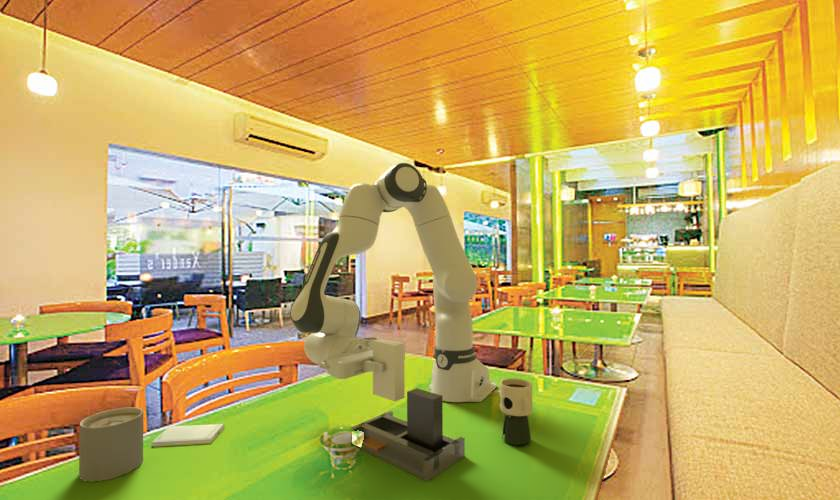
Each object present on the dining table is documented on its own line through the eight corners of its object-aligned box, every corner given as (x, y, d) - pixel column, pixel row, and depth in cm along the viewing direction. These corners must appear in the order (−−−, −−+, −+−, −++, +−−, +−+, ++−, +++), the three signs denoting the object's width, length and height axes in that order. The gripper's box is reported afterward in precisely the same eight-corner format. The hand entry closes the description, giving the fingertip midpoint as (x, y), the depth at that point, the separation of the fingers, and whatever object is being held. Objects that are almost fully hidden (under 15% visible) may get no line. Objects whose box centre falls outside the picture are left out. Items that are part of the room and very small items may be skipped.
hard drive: (151, 441, 86) (211, 438, 88) (170, 425, 94) (224, 422, 96) (151, 449, 86) (211, 445, 88) (170, 432, 94) (224, 429, 96)
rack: (390, 426, 96) (389, 371, 96) (464, 456, 81) (464, 392, 82) (351, 444, 87) (351, 384, 87) (427, 481, 72) (427, 409, 72)
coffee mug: (132, 476, 75) (132, 423, 75) (67, 486, 71) (68, 431, 72) (155, 444, 87) (155, 399, 87) (101, 451, 84) (101, 404, 84)
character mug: (491, 432, 92) (491, 376, 92) (519, 428, 94) (518, 374, 94) (513, 455, 82) (512, 392, 82) (543, 450, 83) (543, 389, 84)
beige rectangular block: (382, 390, 91) (382, 338, 91) (404, 397, 86) (404, 343, 87) (372, 394, 89) (372, 340, 89) (394, 401, 84) (394, 345, 84)
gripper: (315, 350, 88) (354, 361, 79) (381, 336, 104) (420, 343, 95) (315, 378, 88) (354, 392, 79) (381, 360, 104) (421, 370, 95)
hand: (391, 365), depth 87 cm, fingers closed on beige rectangular block, 3 cm apart
